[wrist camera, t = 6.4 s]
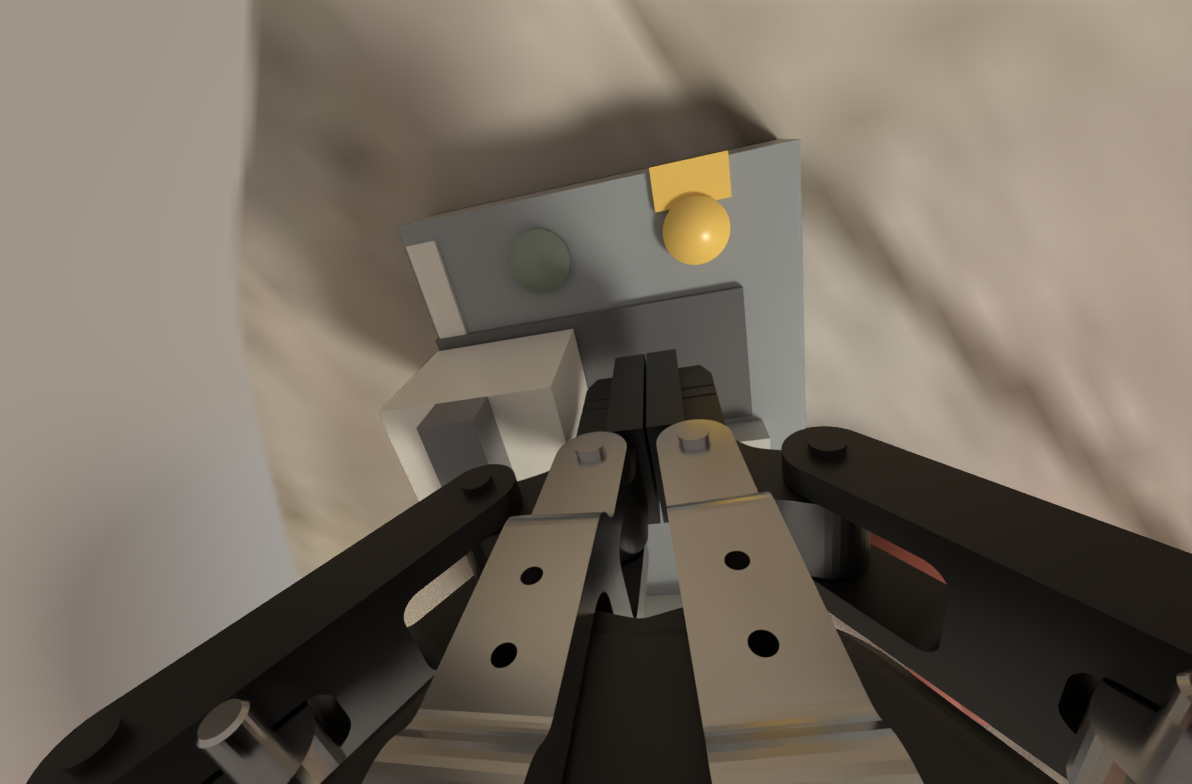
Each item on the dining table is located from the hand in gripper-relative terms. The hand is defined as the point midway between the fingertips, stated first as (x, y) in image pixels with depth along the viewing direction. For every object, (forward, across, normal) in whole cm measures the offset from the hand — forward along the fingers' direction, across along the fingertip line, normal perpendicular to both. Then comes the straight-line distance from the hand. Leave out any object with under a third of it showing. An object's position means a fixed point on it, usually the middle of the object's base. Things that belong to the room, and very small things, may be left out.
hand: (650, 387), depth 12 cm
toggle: (+1, +4, 0) cm, 4 cm away
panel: (+4, +1, +6) cm, 7 cm away
